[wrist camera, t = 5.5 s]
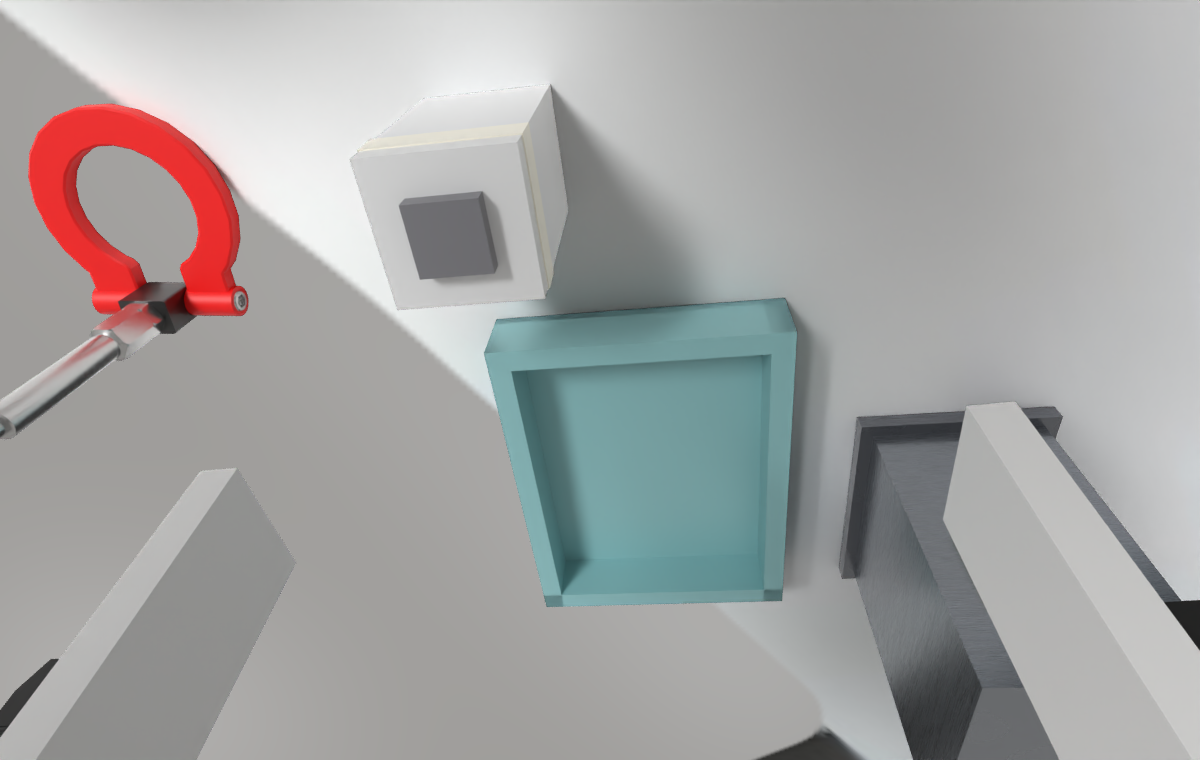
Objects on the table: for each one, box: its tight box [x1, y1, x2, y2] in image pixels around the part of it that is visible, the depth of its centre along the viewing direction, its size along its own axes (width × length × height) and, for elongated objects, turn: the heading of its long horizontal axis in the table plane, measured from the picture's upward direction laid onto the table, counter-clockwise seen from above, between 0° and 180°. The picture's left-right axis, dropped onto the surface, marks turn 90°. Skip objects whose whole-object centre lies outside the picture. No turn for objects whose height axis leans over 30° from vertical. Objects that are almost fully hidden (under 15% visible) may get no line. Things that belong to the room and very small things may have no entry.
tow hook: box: [0, 104, 248, 439], centre depth 25 cm, size 8×13×9 cm
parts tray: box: [484, 298, 797, 607], centre depth 35 cm, size 17×13×3 cm
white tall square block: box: [350, 84, 568, 310], centre depth 24 cm, size 5×5×9 cm
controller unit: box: [839, 407, 1181, 760], centre depth 31 cm, size 11×9×14 cm
